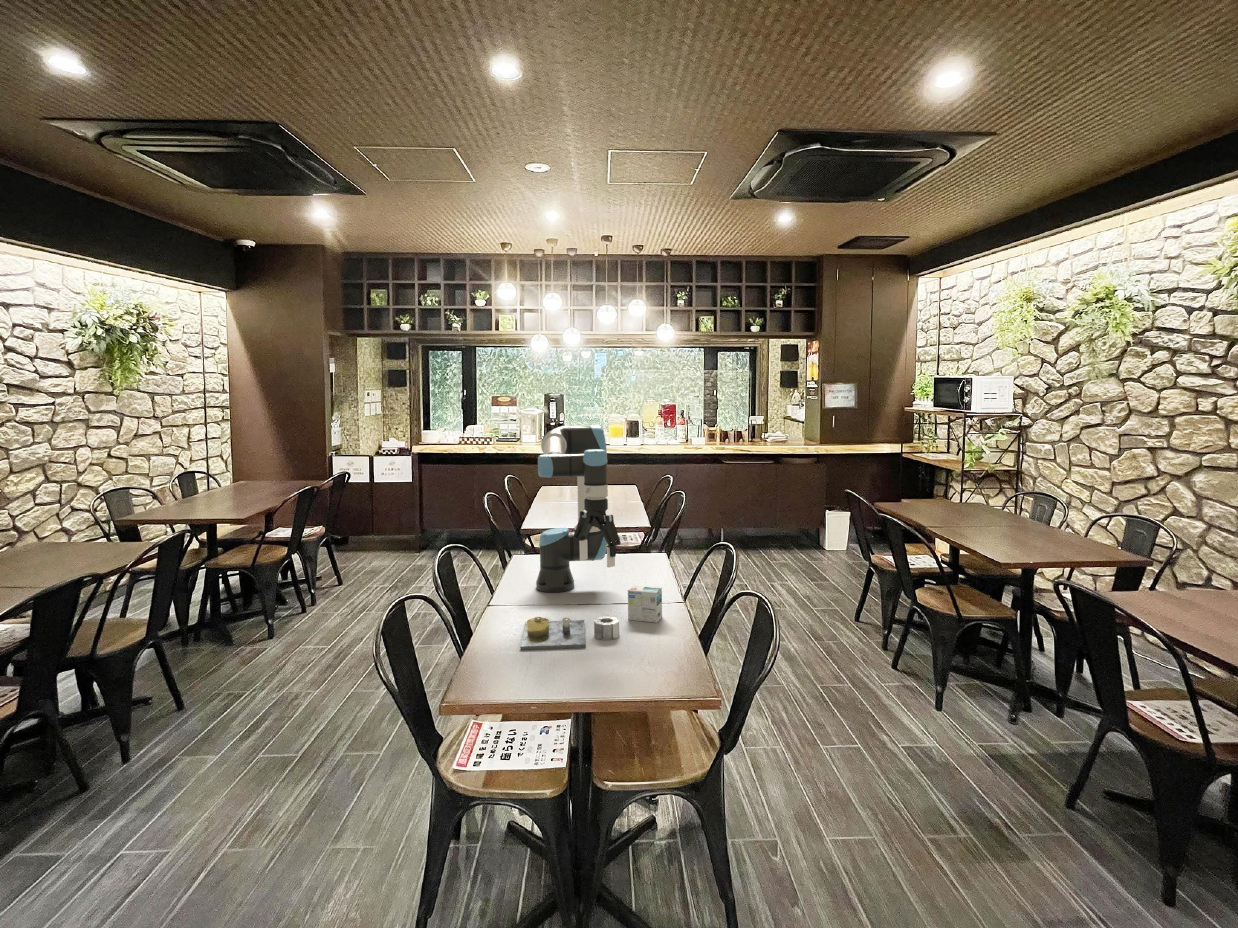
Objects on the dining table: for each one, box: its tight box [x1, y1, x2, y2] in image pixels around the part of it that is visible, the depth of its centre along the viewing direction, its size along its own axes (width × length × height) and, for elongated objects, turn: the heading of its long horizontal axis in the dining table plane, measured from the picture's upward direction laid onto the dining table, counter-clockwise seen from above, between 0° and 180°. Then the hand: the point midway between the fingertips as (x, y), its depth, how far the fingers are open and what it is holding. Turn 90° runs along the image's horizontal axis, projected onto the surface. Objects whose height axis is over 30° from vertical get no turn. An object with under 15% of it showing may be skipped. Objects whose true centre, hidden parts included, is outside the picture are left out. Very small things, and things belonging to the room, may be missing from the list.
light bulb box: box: [627, 584, 663, 624], centre depth 242 cm, size 11×7×11 cm, turn 71°
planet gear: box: [593, 615, 620, 641], centre depth 226 cm, size 8×8×5 cm
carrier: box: [519, 616, 587, 651], centre depth 226 cm, size 22×20×6 cm
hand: (597, 563), depth 226 cm, fingers open, 13 cm apart
